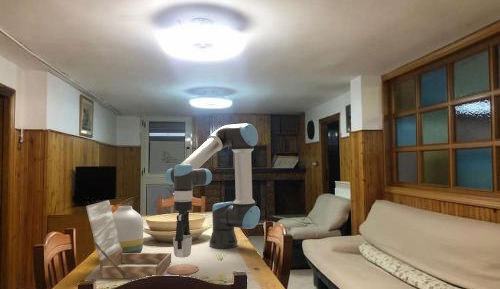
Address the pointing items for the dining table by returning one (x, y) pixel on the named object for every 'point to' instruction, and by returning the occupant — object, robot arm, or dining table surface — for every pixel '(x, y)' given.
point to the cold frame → (119, 248)
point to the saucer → (182, 269)
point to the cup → (187, 245)
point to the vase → (129, 229)
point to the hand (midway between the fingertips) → (182, 253)
